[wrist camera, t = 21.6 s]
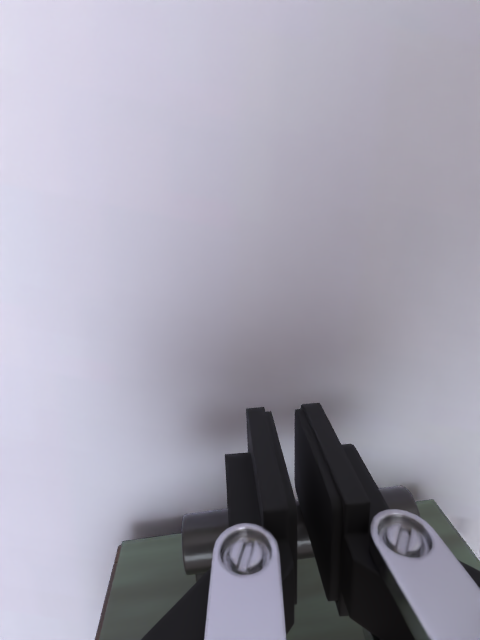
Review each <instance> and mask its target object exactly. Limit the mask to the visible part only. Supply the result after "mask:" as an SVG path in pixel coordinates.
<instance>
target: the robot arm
mask: <svg viewBox="0 0 480 640" xmlns="http://www.w3.org/2000/svg"><path fill="white" fill-rule="evenodd" d="M246 418H247V439H248V453H237V454H225V465H226V484H227V504H228V523H229V528H228V529H226V530H225V531H224V532H223V533H221V534H220V536H219V537H218V539H217V540H216V542H215V546H214V549H213V556H212V566H211V568H210V569H209V570H208V571H207V572H206V573H205V574H204V575H203V576H202V577H201V578H200V579H199V580H198V581H197V582H196V583H195V584H194V585H193V586H192V587H191V588H190V589H189V591H188V592H187V593H186V594H185V595H184V596H183V597H182V598H181V599H180V600H179V601H178V602H177V603H176V604H175V605H174V606H173V607H172V608H171V609H170V610H169V611H168V612H167V613H166V614H165V615H164V616H163V617H162V618H161V619H160V620H159V621H158V622H157V623H156V624H155V626H154V627H153V628H152V629H151V630H150V631H149V632H148V633H147V634H146V635H145V636H144V637H143V638H142V639H141V640H286V635H287V634H288V632H289V631H290V629H291V628H292V626H293V625H294V605H297V508H296V502H295V497H294V494H293V490H292V486H291V482H290V479H289V475H288V471H287V468H286V464H285V460H284V457H283V453H282V449H281V446H280V442H279V438H278V434H277V431H276V427H275V423H274V420H273V416H272V412H271V411H270V412H265V409H264V407H260V408H247V409H246ZM295 488H296V493H297V497H298V500H299V504H300V507H301V511H302V514H303V518H304V521H305V525H306V528H307V532H308V535H309V539H310V542H311V546H312V549H313V553H314V556H315V560H316V563H317V567H318V570H319V574H320V577H321V581H322V584H323V588H324V591H325V595H326V598H327V600H328V601H335V603H336V607H337V610H338V613H339V617H340V616H349V617H350V618H351V619H352V620H354V621H355V622H356V623H358V624H359V625H361V626H362V630H363V634H364V637H365V640H480V571H479V570H477V569H475V568H473V567H471V566H469V565H467V564H465V563H463V562H461V561H459V560H457V558H456V557H455V556H454V555H453V553H452V552H451V551H450V549H449V548H448V547H447V546H446V544H445V543H444V542H443V540H442V539H441V538H440V537H439V535H438V534H437V533H436V531H435V530H434V529H433V528H432V527H431V526H430V525H429V524H428V523H427V522H426V521H425V520H423V519H422V518H420V517H419V516H417V515H415V514H413V513H410V512H408V511H403V510H398V509H391V510H390V508H389V506H388V505H387V503H386V501H385V499H384V498H383V496H382V494H381V492H380V490H379V489H378V487H377V485H376V483H375V482H374V480H373V478H372V476H371V474H370V473H369V471H368V469H367V467H366V466H365V464H364V462H363V460H362V459H361V457H360V455H359V453H358V451H357V450H356V448H355V447H354V445H352V444H344V445H341V443H340V441H339V439H338V437H337V435H336V434H335V432H334V430H333V428H332V426H331V424H330V422H329V420H328V418H327V416H326V414H325V412H324V410H323V408H322V406H321V405H320V403H312V404H302V405H301V408H300V409H297V410H295Z"/></svg>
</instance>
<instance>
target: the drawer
mask: <svg viewBox="0 0 480 640" xmlns="http://www.w3.org/2000/svg"><path fill="white" fill-rule="evenodd" d="M379 490H380V492H381V494H382V496H383V498H384V499H385V501H386V503H387V505H388V506H389V508H390V510H391V509H398V510H403V511H408V512H410V513H413V514H415V515H417V516H419V517H420V518H422V519H423V520H425V521H426V522H427V523H428V524H429V525H430V526H431V527H432V528H433V529H434V530H435V531H436V533H437V534H438V535H439V537H440V538H441V539H442V540H443V542H444V543H445V544H446V546H447V547H448V548H449V549H450V551H451V552H452V553H453V555H454V556H455V557H456V558H457V560H459V561H461V562H463V563H465V564H467V565H469V566H471V567H473V568H475V569H477V570H479V571H480V561H479V560H478V558H477V557H476V556H475V554H474V553H473V552H472V550H471V549H470V548H469V546H468V545H467V544H466V542H465V541H464V540H463V538H462V537H461V536H460V534H459V533H458V532H457V530H456V529H455V528H454V526H453V525H452V524H451V522H450V521H449V520H448V518H447V517H446V516H445V514H444V513H443V512H442V510H441V509H440V508H439V506H438V505H437V504H436V502H435V501H434V500H433V499H431V500H424V501H417V502H415V500H414V498H413V496H412V495H411V493H410V492H409V490H408V489H407V488H405V487H403V486H394V487H387V488H379ZM295 502H296V508H297V605H294V625H293V626H292V628H291V629H290V631H289V632H288V634H287V635H286V640H365V637H364V634H363V630H362V626H361V625H359V624H358V623H356V622H355V621H354V620H352V619H351V618H350V617H349V616H340V617H339V613H338V610H337V607H336V603H335V601H328V600H327V598H326V595H325V591H324V588H323V584H322V581H321V577H320V574H319V570H318V567H317V563H316V560H315V556H314V553H313V549H312V546H311V542H310V539H309V535H308V532H307V528H306V525H305V521H304V518H303V514H302V511H301V507H300V504H299V500H298V499H296V500H295ZM228 528H229V523H228V509H221V510H213V511H205V512H198V513H190V514H185V515H184V516H183V520H182V533H180V534H172V535H165V536H157V537H150V538H143V539H135V540H128V541H123V542H122V546H121V550H120V554H119V559H118V563H117V567H116V571H115V575H114V579H113V583H112V588H111V592H110V596H109V600H108V604H107V608H106V612H105V617H104V621H103V625H102V629H101V633H100V637H99V640H141V639H142V638H143V637H144V636H145V635H146V634H147V633H148V632H149V631H150V630H151V629H152V628H153V627H154V626H155V624H156V623H157V622H158V621H159V620H160V619H161V618H162V617H163V616H164V615H165V614H166V613H167V612H168V611H169V610H170V609H171V608H172V607H173V606H174V605H175V604H176V603H177V602H178V601H179V600H180V599H181V598H182V597H183V596H184V595H185V594H186V593H187V592H188V591H189V589H190V588H191V587H192V586H193V585H194V584H195V583H196V582H197V581H198V580H199V579H200V578H201V577H202V576H203V575H204V574H205V573H206V572H207V571H208V570H209V569H210V568H211V566H212V556H213V549H214V546H215V542H216V540H217V539H218V537H219V536H220V534H221V533H223V532H224V531H225V530H226V529H228Z"/></svg>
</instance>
